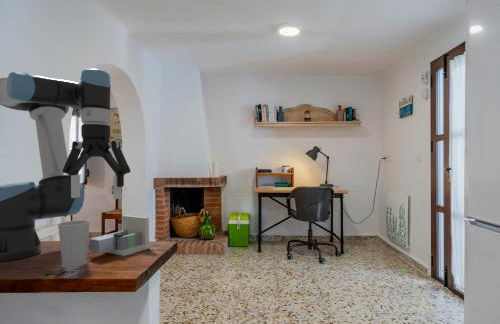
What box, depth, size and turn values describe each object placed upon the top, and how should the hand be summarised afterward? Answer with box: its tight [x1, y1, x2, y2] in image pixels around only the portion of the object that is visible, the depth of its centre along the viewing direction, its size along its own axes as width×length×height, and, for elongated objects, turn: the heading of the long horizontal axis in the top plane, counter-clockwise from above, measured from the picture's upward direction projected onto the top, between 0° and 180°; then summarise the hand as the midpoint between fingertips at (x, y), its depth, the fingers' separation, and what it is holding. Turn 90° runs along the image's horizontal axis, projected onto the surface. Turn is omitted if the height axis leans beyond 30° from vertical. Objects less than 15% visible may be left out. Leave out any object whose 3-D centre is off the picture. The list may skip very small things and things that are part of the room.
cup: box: [57, 219, 91, 269], centre depth 89 cm, size 8×8×12 cm
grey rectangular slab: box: [88, 233, 123, 255], centre depth 97 cm, size 8×8×5 cm
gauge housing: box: [102, 214, 150, 257], centre depth 104 cm, size 12×10×10 cm
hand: (96, 198), depth 89 cm, fingers open, 13 cm apart
